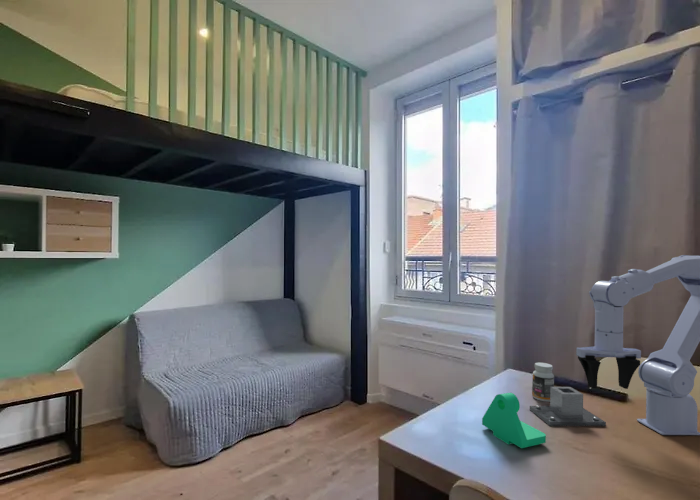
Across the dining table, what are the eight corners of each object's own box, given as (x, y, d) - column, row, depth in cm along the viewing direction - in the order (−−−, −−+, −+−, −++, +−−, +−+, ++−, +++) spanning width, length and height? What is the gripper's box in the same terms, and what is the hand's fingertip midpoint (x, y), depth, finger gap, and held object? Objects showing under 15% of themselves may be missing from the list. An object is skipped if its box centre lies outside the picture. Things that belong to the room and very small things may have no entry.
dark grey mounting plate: (580, 409, 105) (580, 387, 105) (605, 426, 95) (606, 401, 95) (529, 409, 104) (529, 387, 104) (549, 426, 94) (550, 401, 94)
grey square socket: (570, 409, 102) (570, 386, 102) (582, 418, 97) (583, 394, 97) (550, 409, 102) (550, 386, 102) (561, 418, 97) (562, 394, 97)
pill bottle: (527, 396, 115) (528, 362, 115) (543, 394, 116) (543, 361, 116) (542, 403, 109) (543, 368, 109) (558, 401, 111) (559, 366, 111)
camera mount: (547, 447, 84) (548, 400, 84) (521, 453, 81) (522, 404, 82) (506, 424, 95) (507, 382, 96) (482, 429, 93) (482, 386, 93)
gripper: (589, 333, 89) (588, 392, 89) (651, 334, 89) (650, 393, 89) (571, 327, 96) (570, 382, 96) (629, 328, 96) (628, 383, 96)
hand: (607, 387), depth 93 cm, fingers open, 7 cm apart
